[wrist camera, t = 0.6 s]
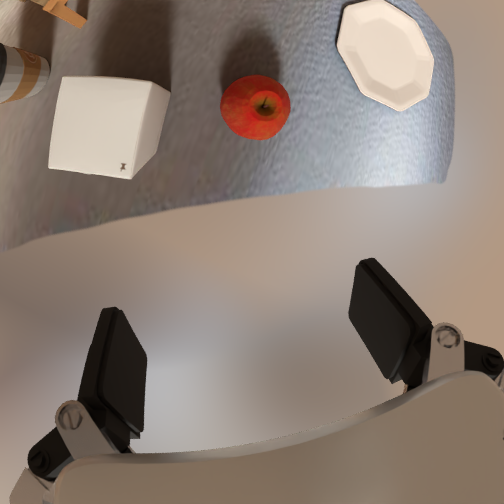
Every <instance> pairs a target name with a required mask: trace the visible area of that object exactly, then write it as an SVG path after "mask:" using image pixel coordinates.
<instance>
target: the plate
mask: <svg viewBox="0 0 504 504" xmlns="http://www.w3.org/2000/svg"><path fill="white" fill-rule="evenodd" d="M336 46H337V51H338V52H339V54H340V56H341V57H342V59H343V61H344V63H345V64H346V66H347V68H348V70H349V72H350V73H351V75H352V77H353V79H354V81H355V83H356V85H357V87H358V89H359V91H360V92H361V93H362V94H363V95H365V96H367V97H369V98H371V99H374V100H376V101H378V102H380V103H382V104H384V105H386V106H388V107H390V108H392V109H394V110H396V111H403V110H405V109H407V108H409V107H410V106H412V105H414V104H416V103H417V102H419V101H421V100H423V99H425V98H426V97H427V96H428V94H429V90H430V84H431V78H432V72H433V66H434V59H433V56H432V53H431V51H430V49H429V46H428V44H427V42H426V40H425V38H424V36H423V34H422V32H421V30H420V28H419V26H418V24H417V22H416V21H415V20H414V19H413V18H411V17H410V16H408V15H407V14H405V13H404V12H402V11H401V10H399V9H397V8H396V7H394V6H393V5H391V4H389V3H388V2H386V1H384V0H367V1H363V2H359V3H355V4H352V5H348V6H346V7H345V8H344V10H343V15H342V20H341V25H340V30H339V35H338V39H337V44H336Z"/></svg>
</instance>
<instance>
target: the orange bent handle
mask: <svg viewBox="0 0 504 504" xmlns="http://www.w3.org/2000/svg"><path fill="white" fill-rule="evenodd" d="M67 1H68V0H49V1H48V3H47V4H46V5H45V7H44V8H43V10H45V11H47V12H49V13H51V14H53V15H55V16H57V17H59V18H61V19H63V20H65V21H66V22H68V23H70V24H72V25H74V26H76V27H78V28H81V27H82V26H83V25H84V23H85V22H86V21H87V20H86V19H85V18H83V17H82V16H80V15H79V14H77V13H76V12H74V11H72V10H71V9H69V8H68V7H66V6H65V5H64V4H65V3H66V2H67Z"/></svg>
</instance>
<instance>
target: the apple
mask: <svg viewBox="0 0 504 504" xmlns="http://www.w3.org/2000/svg"><path fill="white" fill-rule="evenodd" d="M220 109H221V114H222V117H223V119H224V120H225V122H226V123H227V125H228V126H229V128H230V129H231V130H232V131H233V132H235V133H236V134H238V135H240V136H242V137H245V138H248V139H255V140H265V139H269V138H271V137H273V136H274V135H275V134H276V133H278V132H279V131H280V130H281V128H282V127H283V125H284V124H285V123H286V121H287V119H288V116H289V113H290V99H289V96H288V93H287V92H286V90H285V89H284V87H283V86H282V85H281V84H280V83H278V82H277V81H275V80H274V79H272V78H270V77H267V76H262V75H250V76H245V77H242V78H240V79H238V80H236V81H235V82H233V83H232V84H231V85H230V86H229V87H228V88H227V89H226V90H225V92H224V94H223V96H222V97H221V103H220Z"/></svg>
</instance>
